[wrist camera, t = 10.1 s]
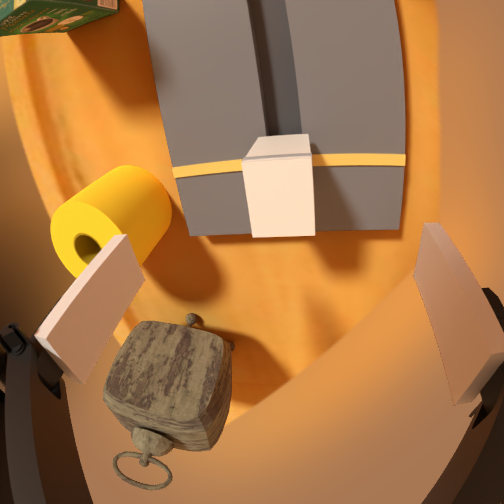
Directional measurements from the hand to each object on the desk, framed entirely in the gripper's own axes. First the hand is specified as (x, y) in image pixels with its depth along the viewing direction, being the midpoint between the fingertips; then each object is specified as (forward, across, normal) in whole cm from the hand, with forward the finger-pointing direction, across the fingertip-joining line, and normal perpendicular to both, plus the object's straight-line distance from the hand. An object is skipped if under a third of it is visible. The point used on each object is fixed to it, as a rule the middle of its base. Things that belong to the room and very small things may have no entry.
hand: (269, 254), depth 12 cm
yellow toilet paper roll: (+17, -18, -4) cm, 25 cm away
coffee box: (+18, -18, +20) cm, 32 cm away
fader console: (+17, 0, +6) cm, 18 cm away
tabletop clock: (+17, -15, -24) cm, 33 cm away
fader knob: (+17, 0, 0) cm, 17 cm away
